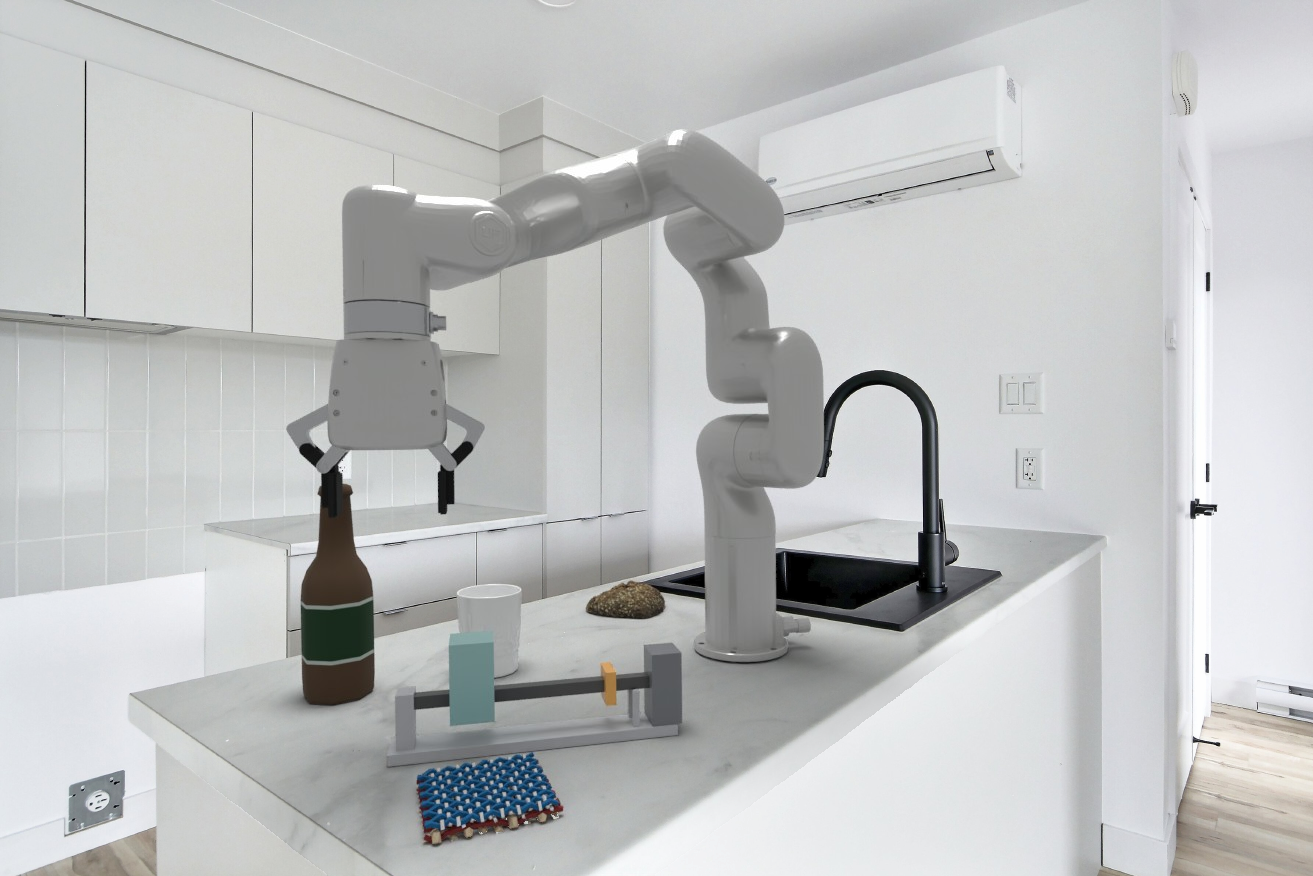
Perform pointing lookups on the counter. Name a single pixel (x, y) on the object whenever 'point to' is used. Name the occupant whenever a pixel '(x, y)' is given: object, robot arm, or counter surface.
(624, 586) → the bread roll
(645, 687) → the teal block rod stand
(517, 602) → the white cup
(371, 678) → the beer bottle
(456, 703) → the teal sliding block
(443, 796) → the woven mat
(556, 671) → the counter surface
